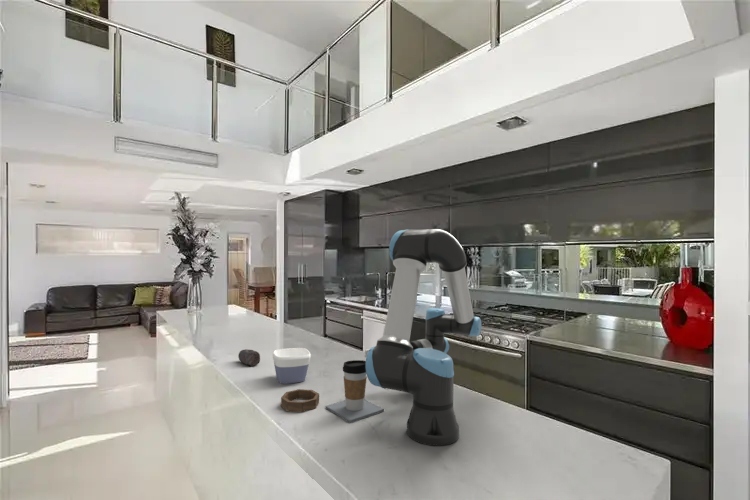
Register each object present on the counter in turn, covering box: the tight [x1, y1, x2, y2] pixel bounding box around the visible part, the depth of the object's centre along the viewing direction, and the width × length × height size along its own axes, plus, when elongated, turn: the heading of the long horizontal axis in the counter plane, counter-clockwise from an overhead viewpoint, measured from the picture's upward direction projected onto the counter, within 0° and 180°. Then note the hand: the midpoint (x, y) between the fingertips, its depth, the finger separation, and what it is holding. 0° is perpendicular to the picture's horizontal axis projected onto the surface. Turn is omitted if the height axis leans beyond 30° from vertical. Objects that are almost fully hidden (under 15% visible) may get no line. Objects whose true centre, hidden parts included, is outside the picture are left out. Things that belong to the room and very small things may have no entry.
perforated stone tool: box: [238, 348, 261, 367], centre depth 172 cm, size 15×5×7 cm, turn 48°
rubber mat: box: [324, 398, 385, 424], centre depth 121 cm, size 14×14×1 cm
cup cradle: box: [280, 388, 320, 413], centre depth 125 cm, size 12×12×3 cm
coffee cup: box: [342, 359, 368, 411], centre depth 121 cm, size 8×8×15 cm
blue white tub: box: [272, 347, 312, 385], centre depth 151 cm, size 15×15×11 cm
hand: (377, 357), depth 129 cm, fingers open, 13 cm apart
